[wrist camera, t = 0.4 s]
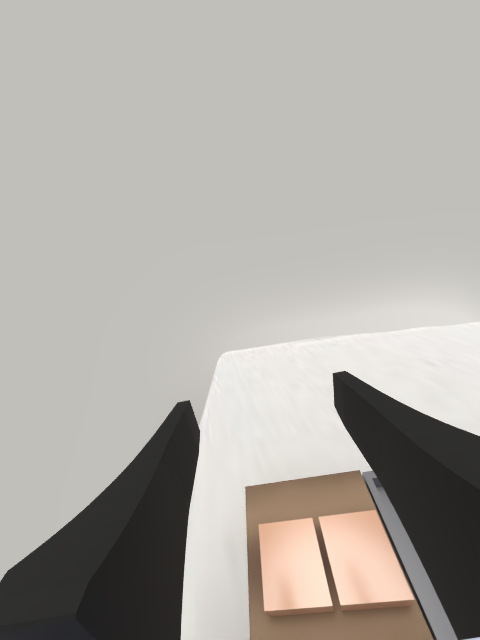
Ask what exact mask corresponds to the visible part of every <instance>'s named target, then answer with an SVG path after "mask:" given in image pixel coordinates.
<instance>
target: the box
mask: <svg viewBox="0 0 480 640" xmlns="http://www.w3.org/2000/svg"><path fill="white" fill-rule="evenodd" d="M362 477H363V480H364V482H365V484H366V486H367V489H368V491H369V493H370V496H371V498H372V500H373V502H374V505H375V507H376V509H377V512H378V514H379V516H380V518H381V521H382V523H383V525H384V528H385V530H386V532H387V534H388V537H389V539H390V541H391V544H392V546H393V548H394V550H395V553H396V555H397V557H398V560H399V562H400V564H401V566H402V569H403V571H404V573H405V576H406V578H407V580H408V582H409V585H410V587H411V589H412V591H413V594H414V596H415V598H416V601H417V603H418V605H419V607H420V610H421V612H422V614H423V617H424V619H425V621H426V623H427V626H428V628H429V630H430V633H431V635H432V637H433V639H434V640H458V639H457V637H456V635H455V633H454V630H453V628H452V626H451V624H450V622H449V619H448V617H447V615H446V613H445V611H444V609H443V607H442V605H441V602H440V600H439V598H438V596H437V594H436V592H435V590H434V588H433V585H432V583H431V581H430V579H429V577H428V575H427V573H426V571H425V569H424V567H423V565H422V563H421V561H420V559H419V557H418V555H417V553H416V550H415V548H414V546H413V544H412V542H411V540H410V538H409V536H408V534H407V532H406V531H405V529H404V527H403V525H402V523H401V521H400V519H399V517H398V515H397V513H396V511H395V509H394V507H393V505H392V504H391V502H390V500H389V498H388V496H387V494H386V492H385V490H384V489H383V487H382V485H381V483H380V481H379V480H378V478H377V476H376V475H375V473H374V471H369V472H363V473H362Z"/></svg>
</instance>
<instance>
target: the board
mask: <svg viewBox="0 0 480 640" xmlns="http://www.w3.org/2000/svg"><path fill="white" fill-rule="evenodd" d="M245 489H246V520H247V552H248V584H249V615H250V640H434V639H433V637H432V635H431V633H430V630H429V628H428V626H427V623H426V621H425V619H424V617H423V614H422V612H421V610H420V607H419V605H418V603H417V601H416V598H415V596H414V594H413V591H412V589H411V587H410V585H409V582H408V580H407V578H406V576H405V573H404V571H403V569H402V566H401V564H400V562H399V560H398V557H397V555H396V553H395V550H394V548H393V546H392V544H391V541H390V539H389V537H388V534H387V532H386V530H385V528H384V525H383V523H382V521H381V518H380V516H379V514H378V512H377V509H376V507H375V505H374V502H373V500H372V498H371V496H370V493H369V491H368V489H367V486H366V484H365V482H364V480H363V477H362V475H361V473H360V470H358V471H351V472H344V473H337V474H330V475H324V476H317V477H310V478H303V479H296V480H289V481H282V482H275V483H269V484H262V485H255V486H248V487H245ZM370 510H376V512H377V514H378V517H379V519H380V521H381V523H382V526H383V528H384V530H385V533H386V535H387V537H388V540H389V542H390V544H391V547H392V549H393V551H394V553H395V556H396V558H397V560H398V563H399V565H400V567H401V570H402V572H403V574H404V576H405V579H406V581H407V583H408V586H409V588H410V590H411V593H412V595H413V597H414V599H415V600H414V601H413V603H412V605H411V606H406V607H392V608H379V609H366V610H352V611H341V607H340V603H339V599H338V595H337V591H336V587H335V583H334V579H333V575H332V571H331V567H330V563H329V559H328V555H327V551H326V547H325V543H324V539H323V535H322V531H321V527H320V522H319V517H322V516H330V515H338V514H346V513H354V512H362V511H370ZM306 518H312V519H313V523H314V527H315V531H316V536H317V540H318V544H319V549H320V553H321V557H322V562H323V566H324V570H325V575H326V579H327V583H328V587H329V592H330V596H331V600H332V605H333V609H334V612H326V613H312V614H299V615H286V616H272V617H270V616H269V615H268V614H267V613H266V612H265V611H264V598H263V583H262V568H261V553H260V538H259V524H266V523H274V522H282V521H290V520H298V519H306Z"/></svg>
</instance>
